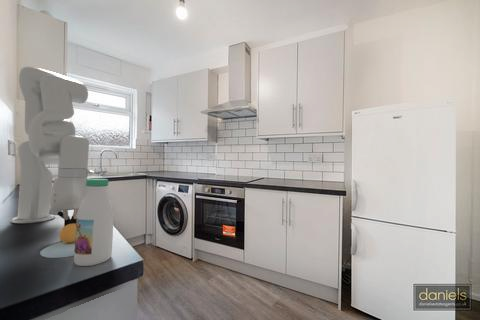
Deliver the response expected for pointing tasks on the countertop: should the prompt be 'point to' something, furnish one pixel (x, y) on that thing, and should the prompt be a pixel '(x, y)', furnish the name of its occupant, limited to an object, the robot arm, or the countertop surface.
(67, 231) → the ball
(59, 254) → the disc
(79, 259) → the milk bottle
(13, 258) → the countertop surface
